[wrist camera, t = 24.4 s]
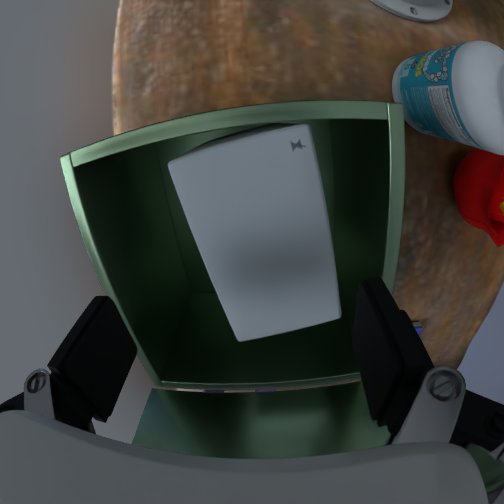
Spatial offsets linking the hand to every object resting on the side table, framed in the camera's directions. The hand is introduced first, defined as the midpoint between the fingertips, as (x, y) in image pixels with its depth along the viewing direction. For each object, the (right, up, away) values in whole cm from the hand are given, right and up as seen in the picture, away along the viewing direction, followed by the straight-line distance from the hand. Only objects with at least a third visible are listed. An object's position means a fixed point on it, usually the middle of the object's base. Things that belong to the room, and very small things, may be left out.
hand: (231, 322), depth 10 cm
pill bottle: (+16, +16, +8) cm, 24 cm away
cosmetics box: (+1, +7, +12) cm, 14 cm away
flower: (+23, +10, +11) cm, 27 cm away
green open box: (+1, +6, +14) cm, 15 cm away
